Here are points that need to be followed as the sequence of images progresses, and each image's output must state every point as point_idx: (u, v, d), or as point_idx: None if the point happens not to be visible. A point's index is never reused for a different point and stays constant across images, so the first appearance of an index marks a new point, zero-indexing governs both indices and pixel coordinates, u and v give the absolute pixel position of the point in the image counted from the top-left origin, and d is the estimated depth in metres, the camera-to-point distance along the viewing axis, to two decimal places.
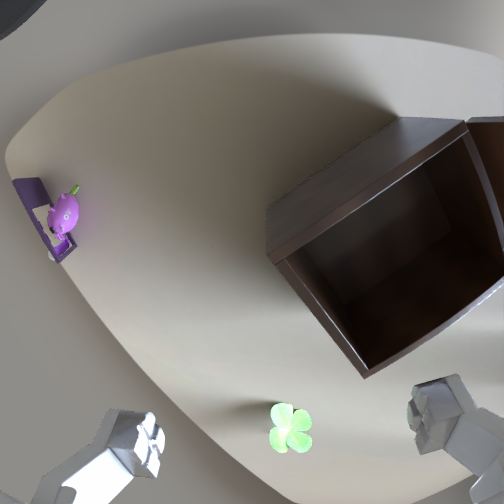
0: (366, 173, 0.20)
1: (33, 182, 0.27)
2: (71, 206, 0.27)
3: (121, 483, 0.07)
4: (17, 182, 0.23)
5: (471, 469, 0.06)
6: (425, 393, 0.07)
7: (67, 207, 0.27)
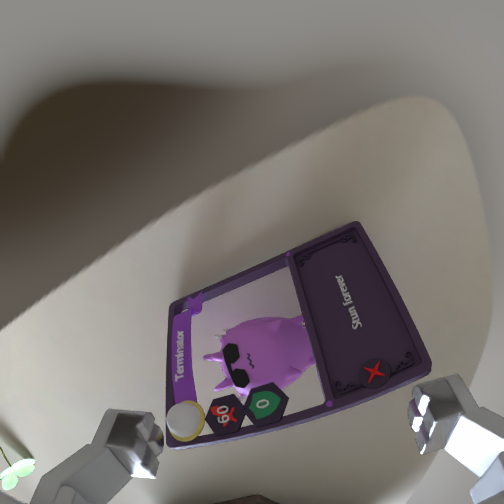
0: None
1: None
2: None
3: (121, 483, 0.07)
4: None
5: (472, 469, 0.06)
6: (426, 393, 0.07)
7: None
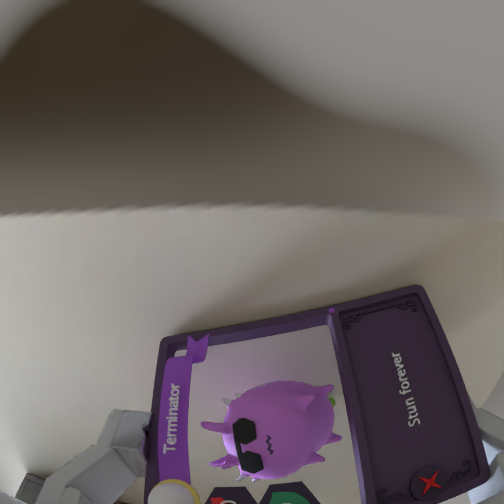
0: None
1: None
2: None
3: (126, 483, 0.07)
4: (470, 478, 0.05)
5: None
6: None
7: None
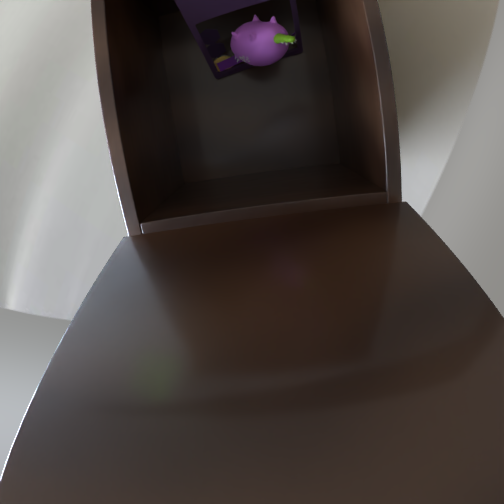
0: None
1: None
2: (253, 58, 0.16)
3: None
4: None
5: None
6: None
7: (247, 54, 0.16)
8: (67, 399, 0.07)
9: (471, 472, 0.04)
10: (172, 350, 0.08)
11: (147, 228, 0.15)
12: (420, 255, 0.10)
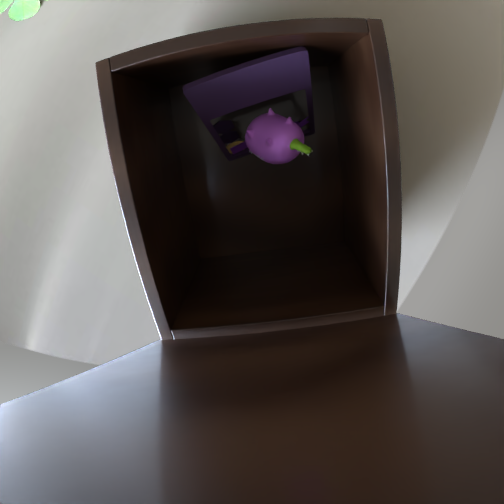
0: None
1: (263, 69, 0.15)
2: (268, 160, 0.19)
3: None
4: (190, 93, 0.15)
5: None
6: None
7: (262, 156, 0.19)
8: (92, 384, 0.08)
9: (460, 387, 0.05)
10: (194, 370, 0.10)
11: (177, 334, 0.18)
12: (404, 327, 0.12)
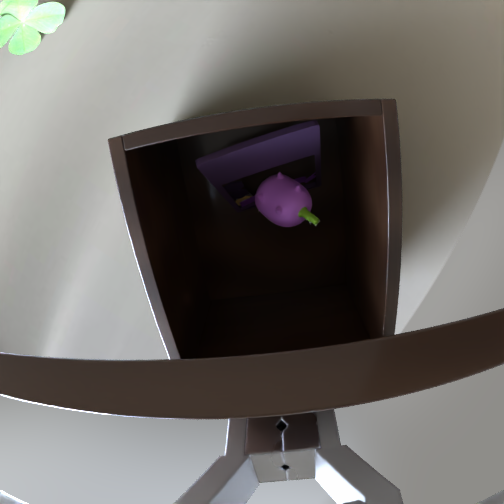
0: None
1: (274, 143, 0.16)
2: (277, 224, 0.20)
3: (250, 493, 0.07)
4: (203, 166, 0.17)
5: None
6: (285, 419, 0.08)
7: (271, 220, 0.20)
8: None
9: None
10: None
11: None
12: None
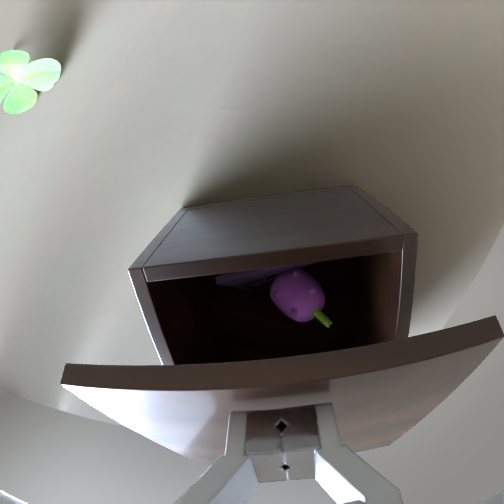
0: None
1: None
2: (292, 318, 0.21)
3: (250, 492, 0.07)
4: (223, 282, 0.18)
5: None
6: (285, 419, 0.08)
7: None
8: None
9: None
10: None
11: None
12: None
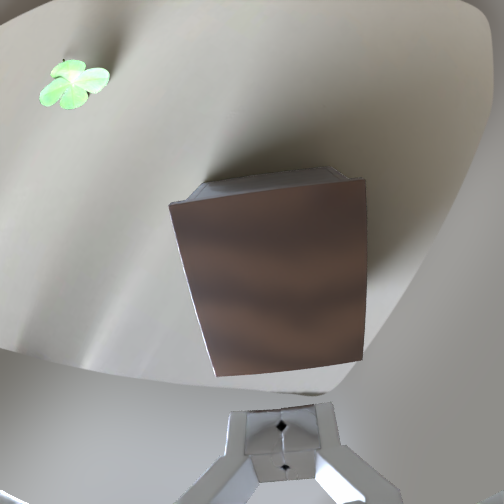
0: None
1: None
2: None
3: (250, 492, 0.07)
4: None
5: None
6: (285, 419, 0.08)
7: None
8: None
9: None
10: None
11: None
12: None
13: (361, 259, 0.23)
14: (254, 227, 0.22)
